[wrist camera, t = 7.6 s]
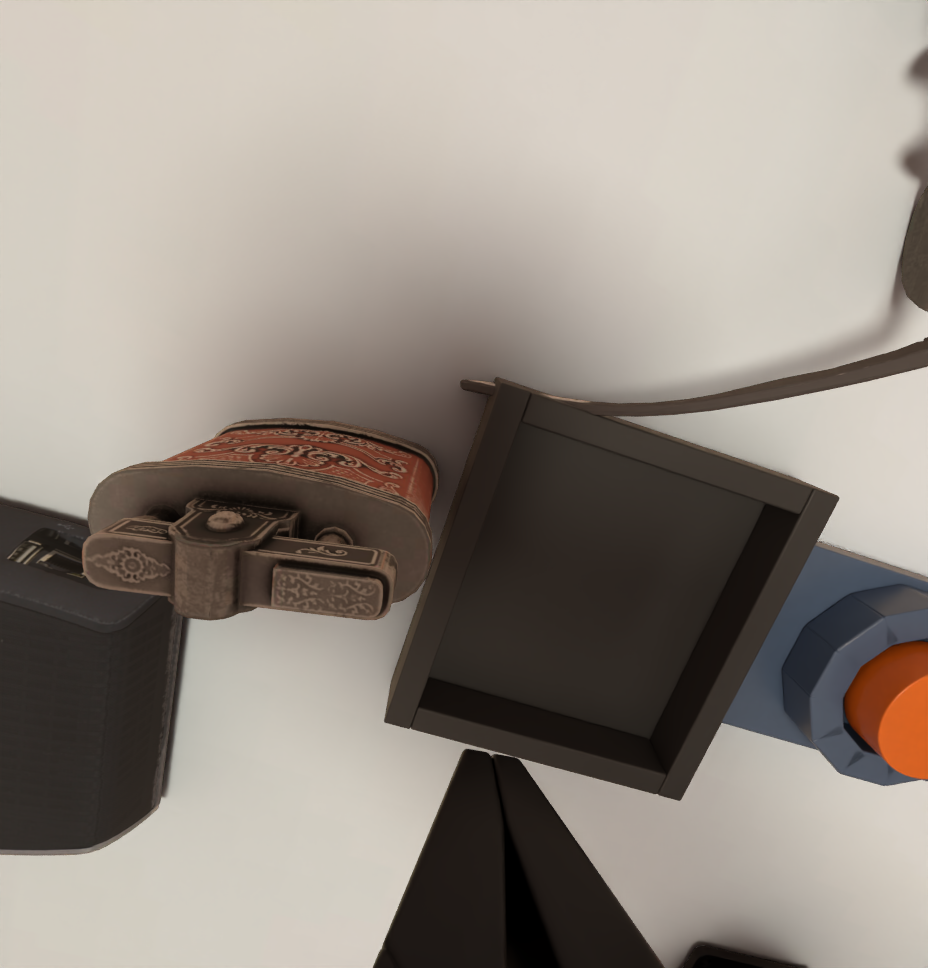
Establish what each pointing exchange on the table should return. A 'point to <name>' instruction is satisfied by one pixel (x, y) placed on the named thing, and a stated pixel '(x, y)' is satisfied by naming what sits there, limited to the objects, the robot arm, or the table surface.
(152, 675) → the hard drive
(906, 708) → the test button
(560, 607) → the holder
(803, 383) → the sunglasses
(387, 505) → the lighter
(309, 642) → the table surface
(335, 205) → the table surface
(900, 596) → the box
